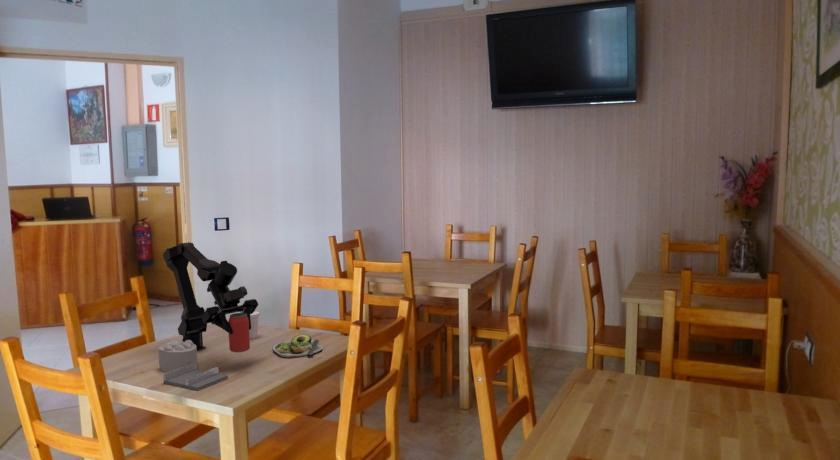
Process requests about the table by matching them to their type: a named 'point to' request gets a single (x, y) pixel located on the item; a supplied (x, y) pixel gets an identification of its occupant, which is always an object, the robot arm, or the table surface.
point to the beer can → (239, 332)
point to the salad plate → (298, 347)
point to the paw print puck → (177, 355)
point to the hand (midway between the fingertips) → (241, 331)
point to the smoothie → (254, 325)
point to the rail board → (193, 377)
